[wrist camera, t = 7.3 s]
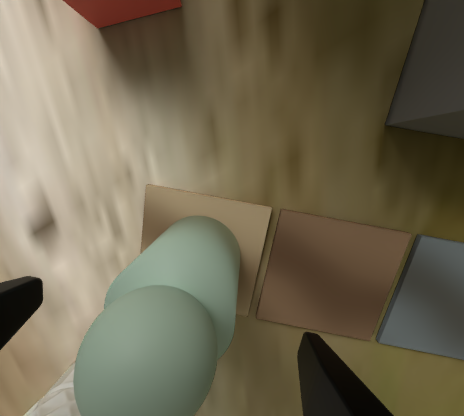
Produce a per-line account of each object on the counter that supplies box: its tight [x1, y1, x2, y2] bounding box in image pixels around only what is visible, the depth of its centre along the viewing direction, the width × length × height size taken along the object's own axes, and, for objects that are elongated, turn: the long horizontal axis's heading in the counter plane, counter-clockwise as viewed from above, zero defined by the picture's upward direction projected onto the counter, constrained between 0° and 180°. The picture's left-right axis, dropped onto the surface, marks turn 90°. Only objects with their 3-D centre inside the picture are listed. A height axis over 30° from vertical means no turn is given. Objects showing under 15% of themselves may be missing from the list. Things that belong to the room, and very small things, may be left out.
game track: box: [141, 184, 464, 360], centre depth 12 cm, size 6×20×1 cm, turn 80°
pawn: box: [73, 216, 240, 416], centre depth 9 cm, size 4×4×8 cm
